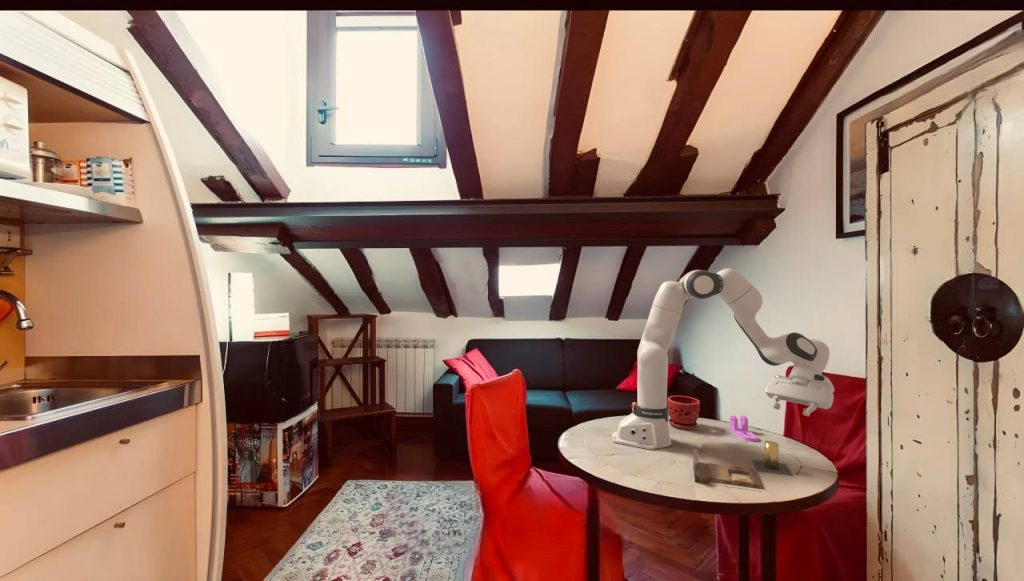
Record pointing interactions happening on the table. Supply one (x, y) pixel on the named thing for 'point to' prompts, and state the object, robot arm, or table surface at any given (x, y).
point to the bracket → (742, 428)
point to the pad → (761, 468)
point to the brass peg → (771, 455)
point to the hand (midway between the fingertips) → (790, 411)
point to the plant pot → (683, 411)
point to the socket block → (723, 474)
